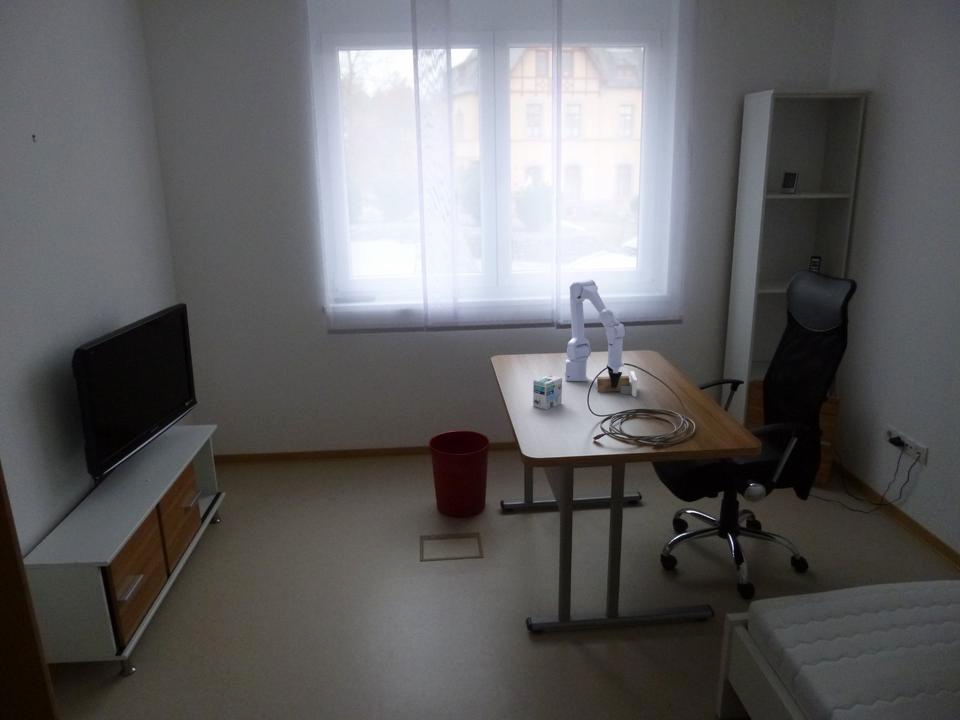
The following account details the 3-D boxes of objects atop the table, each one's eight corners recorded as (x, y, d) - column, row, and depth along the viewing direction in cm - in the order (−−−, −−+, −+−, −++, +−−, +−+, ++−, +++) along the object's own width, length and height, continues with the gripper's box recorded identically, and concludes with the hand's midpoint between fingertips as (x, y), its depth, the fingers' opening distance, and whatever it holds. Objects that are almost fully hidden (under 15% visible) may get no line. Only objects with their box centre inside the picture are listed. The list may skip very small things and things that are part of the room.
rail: (597, 391, 289) (597, 379, 287) (597, 389, 292) (597, 376, 291) (629, 390, 287) (629, 378, 286) (628, 388, 290) (628, 375, 289)
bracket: (621, 396, 283) (622, 379, 281) (618, 386, 296) (619, 370, 294) (636, 396, 283) (637, 380, 281) (632, 386, 295) (633, 371, 293)
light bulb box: (545, 410, 267) (546, 383, 265) (532, 406, 272) (532, 380, 269) (562, 403, 275) (563, 377, 272) (548, 399, 279) (549, 374, 277)
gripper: (626, 358, 278) (624, 390, 282) (623, 349, 292) (621, 379, 296) (608, 357, 279) (607, 389, 282) (606, 348, 293) (604, 379, 296)
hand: (613, 384), depth 289 cm, fingers open, 7 cm apart
